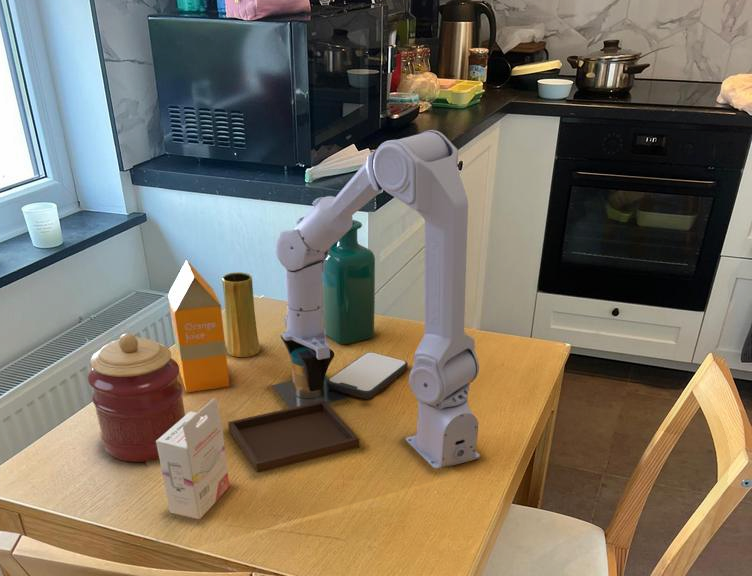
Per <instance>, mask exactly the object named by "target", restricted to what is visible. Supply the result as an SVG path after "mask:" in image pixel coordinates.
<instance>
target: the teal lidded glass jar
mask: <svg viewBox="0 0 752 576" xmlns="http://www.w3.org/2000/svg"><path fill="white" fill-rule="evenodd" d="M305 351H310V348H309V347H302V348H298V349H295V350H294V351H292V353H291V358H290V362H291V361H292V362H291V373H292V374H291V375H292V381H293V391H294V394H295V395H296V396H297V397H300V398H305V399H311V398H316V397H319V396H321V395H322V394H323V393H324V384H323V388H322V389H321V390H317V391H310V390H309V387H308V383H307V378H306V372H305V369H304V366H303V363H302V361H301V359H300V357H299V356H298V353H300V352H305Z"/></svg>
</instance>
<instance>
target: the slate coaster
mask: <svg viewBox="0 0 752 576" xmlns="http://www.w3.org/2000/svg"><path fill="white" fill-rule="evenodd" d="M329 378H330V377H328V376H327V374H326V375H325V379H324V393H323V394H322V395H321V396H319V397H316V398H311V399H305V398H300V397H297V396H296V395H295V394H294V391H293V380H290V381H285V382H279V383H275V384H271V387H272V389H273V390H274V391H275V392H276V393H277V395H278V396H279V397H280V398H281V399H282V402H284V403H285V404H286V406H287V407H288V409H289V408H293V407H298V406H302V405H307V404H311V403H316V402H320V401H325V402H326V403H327V404H330V403H331V404H332V403H335V402H341V401H345V400H348V397H347V396H346V395H345V393H342V392H339V391H335V390H332V389H329V388H328V387H327V380H328V379H329Z"/></svg>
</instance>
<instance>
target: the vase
mask: <svg viewBox="0 0 752 576" xmlns="http://www.w3.org/2000/svg"><path fill="white" fill-rule="evenodd" d="M221 281H222V290H223V300H224V302H223V303H224V314H225V315H224V316H225V326H226V327H225V329H226V337H227V338H226V339H227V340H226V341H227V353H228V355H230V356H232V357H235V358H249V357H254V356H255V355H257V354H258V353H259V352H260V351H261V346H260V341H259V336H258V335H259V334H258V329H257V321H256V313H255V312H256V311H255V298H254V297H255V296H254V289H253V288H254V287H253V286H254V285H253V276H252V275H251V274H249V273H246V272H240V271H239V272H236V271H235V272H229V273H226V274H224V275H223V276H222V279H221Z"/></svg>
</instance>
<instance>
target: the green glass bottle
mask: <svg viewBox="0 0 752 576" xmlns="http://www.w3.org/2000/svg"><path fill="white" fill-rule="evenodd" d="M362 227H363V224H362V222H361V221H358V220H355V219H353V223H352V227H351V229H350V230H349V231H348V232H347V233H346V234H345V235H344V236H343V237H342V238H340V239H339V240H338V241H337V242H336V243H335V244H334V245H333V246H332V247H331V248H330V252H329V255H328V257H327V259H326V260H325V264H324V267H325V270H323V273H322V286H323V319H324V329H325V333H326V337H328V338H330V339H331V340H333V342H336V343H337V344H340V345H350V344H354V343H358V342H361V341H362V342H363V341H366V340H370V339H372V338H373V337H374V335H375V311H376V310H375V309H376V308H375V307H376V306H375V304H376V303H375V302H376V301H375V300H376V298H375V296H376V295H375V294H376V257H375V254H374V252H373V251H372V250H371V249H370V248H368V247H365V246H363V245H361V244H359V241H358V230H359V229H361V228H362Z"/></svg>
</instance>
